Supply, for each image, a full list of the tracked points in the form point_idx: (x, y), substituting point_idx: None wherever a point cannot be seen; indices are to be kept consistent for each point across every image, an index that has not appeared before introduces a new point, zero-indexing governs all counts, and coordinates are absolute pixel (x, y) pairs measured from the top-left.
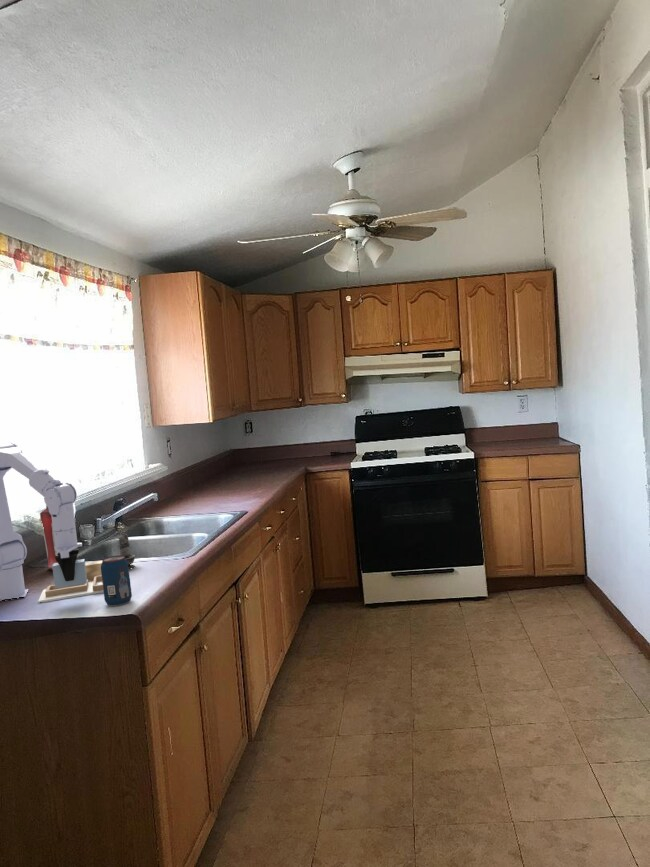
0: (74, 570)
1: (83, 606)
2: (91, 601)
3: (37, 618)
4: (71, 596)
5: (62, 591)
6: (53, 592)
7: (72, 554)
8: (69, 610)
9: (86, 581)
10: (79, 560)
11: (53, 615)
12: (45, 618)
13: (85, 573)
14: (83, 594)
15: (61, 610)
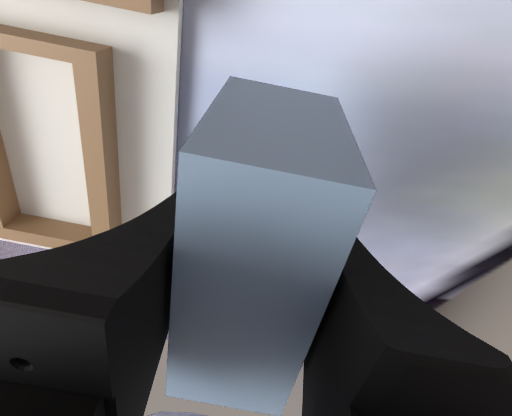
0: (360, 244)
1: (424, 111)
2: (358, 52)
3: (412, 292)
4: (174, 143)
5: (112, 185)
6: (113, 224)
7: (138, 338)
8: (426, 182)
9: (302, 92)
10: (235, 222)
11: (435, 245)
12: (447, 273)
13: (310, 116)
14: (178, 78)
15: (385, 210)
